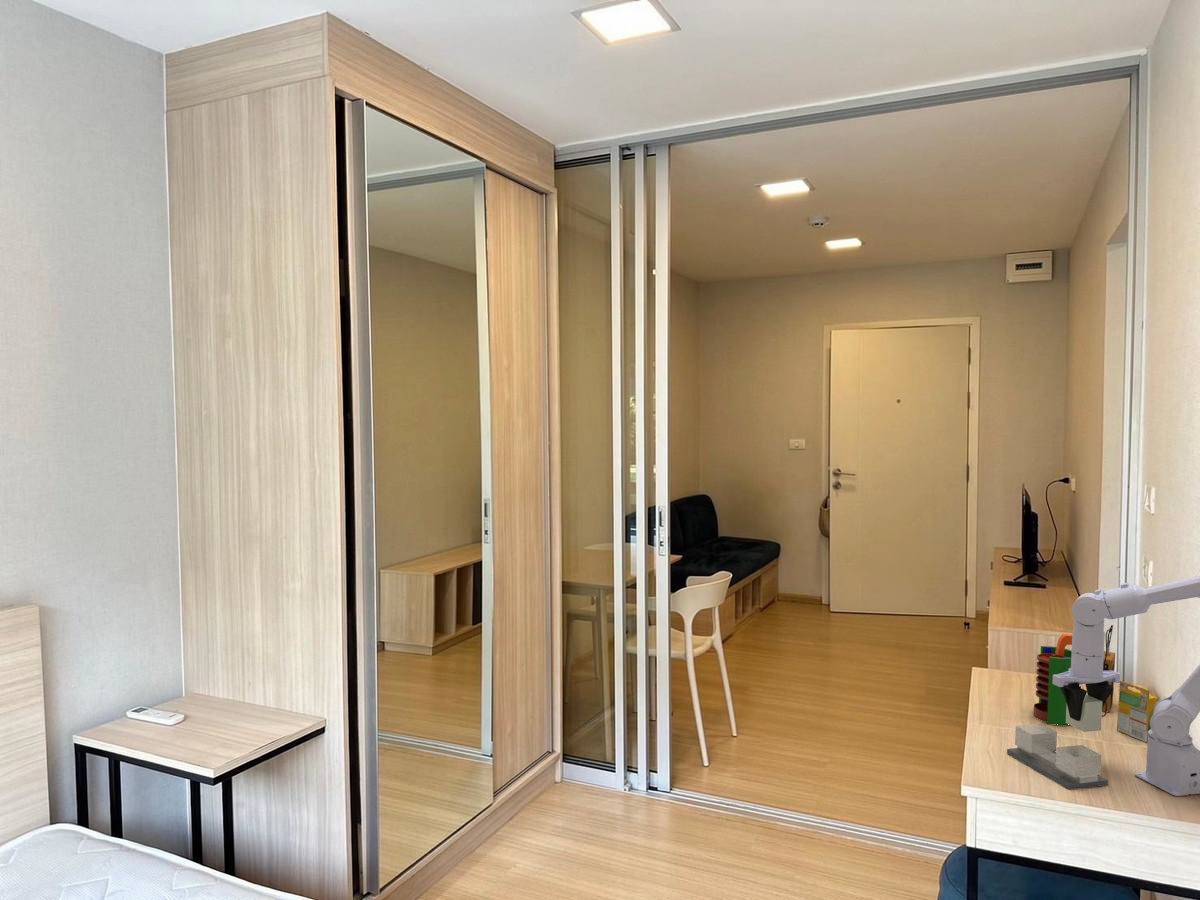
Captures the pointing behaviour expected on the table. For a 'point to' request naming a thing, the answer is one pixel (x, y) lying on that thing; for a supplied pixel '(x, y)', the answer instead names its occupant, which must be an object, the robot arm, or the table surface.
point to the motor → (1048, 693)
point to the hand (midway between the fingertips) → (1084, 718)
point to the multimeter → (1108, 666)
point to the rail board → (1057, 758)
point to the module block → (1087, 715)
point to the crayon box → (1135, 711)
